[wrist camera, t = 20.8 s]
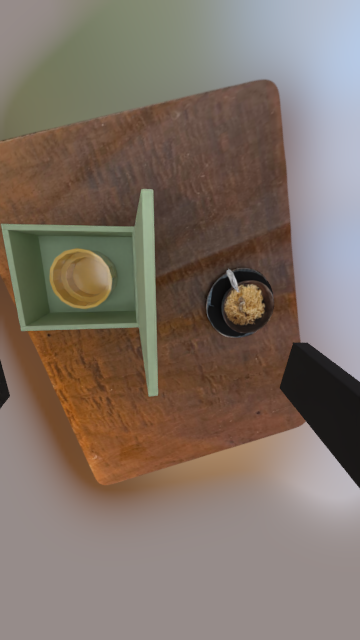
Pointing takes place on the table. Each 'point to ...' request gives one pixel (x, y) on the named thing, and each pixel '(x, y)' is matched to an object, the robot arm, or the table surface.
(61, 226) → the chest
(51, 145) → the table surface
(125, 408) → the table surface
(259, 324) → the soup bowl
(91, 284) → the bowl
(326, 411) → the robot arm
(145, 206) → the chest lid
